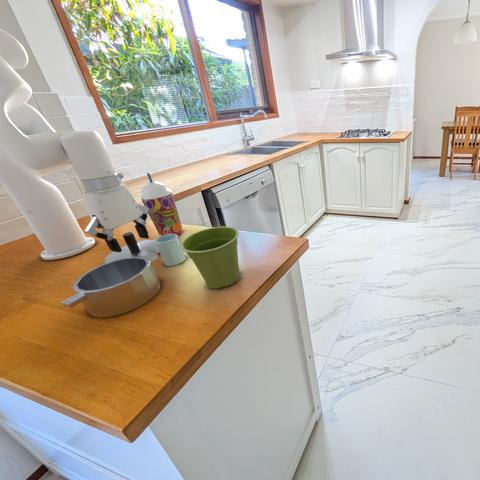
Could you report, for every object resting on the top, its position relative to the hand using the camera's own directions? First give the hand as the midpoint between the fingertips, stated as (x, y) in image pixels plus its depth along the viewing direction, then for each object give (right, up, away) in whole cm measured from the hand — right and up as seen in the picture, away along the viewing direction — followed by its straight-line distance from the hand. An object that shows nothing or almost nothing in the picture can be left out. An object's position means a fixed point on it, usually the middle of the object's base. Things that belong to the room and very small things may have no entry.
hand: (131, 244), depth 81 cm
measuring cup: (+14, -4, -3) cm, 15 cm away
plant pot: (+32, -8, -13) cm, 35 cm away
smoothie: (+4, +3, +13) cm, 14 cm away
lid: (0, -2, +1) cm, 3 cm away
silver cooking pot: (+11, -12, -16) cm, 23 cm away
